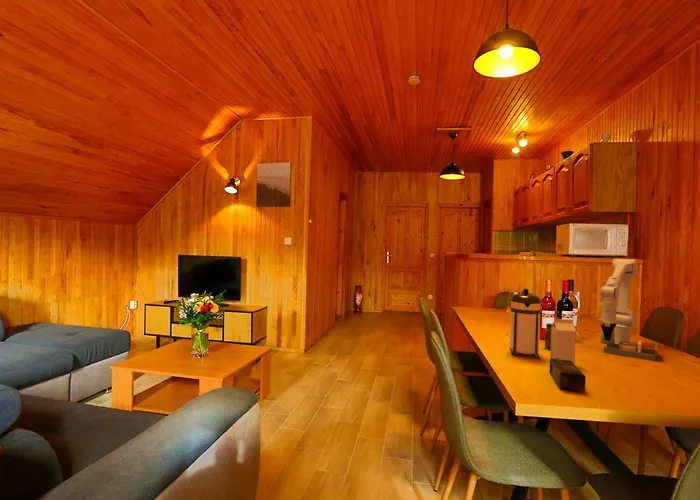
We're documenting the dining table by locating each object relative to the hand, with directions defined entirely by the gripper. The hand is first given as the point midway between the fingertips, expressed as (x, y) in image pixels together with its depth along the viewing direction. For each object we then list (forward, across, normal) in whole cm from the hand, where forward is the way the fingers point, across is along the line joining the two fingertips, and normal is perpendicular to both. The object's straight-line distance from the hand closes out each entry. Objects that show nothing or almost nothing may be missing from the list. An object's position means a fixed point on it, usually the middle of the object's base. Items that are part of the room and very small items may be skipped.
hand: (608, 339), depth 181 cm
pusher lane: (+5, 0, +9) cm, 10 cm away
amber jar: (+5, 0, +8) cm, 9 cm away
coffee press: (+6, +36, -29) cm, 47 cm away
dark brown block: (+6, +64, -7) cm, 65 cm away
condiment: (+6, +18, -20) cm, 28 cm away
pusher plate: (+5, 0, +12) cm, 13 cm away
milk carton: (+6, +42, -12) cm, 44 cm away
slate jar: (+2, 0, 0) cm, 2 cm away
